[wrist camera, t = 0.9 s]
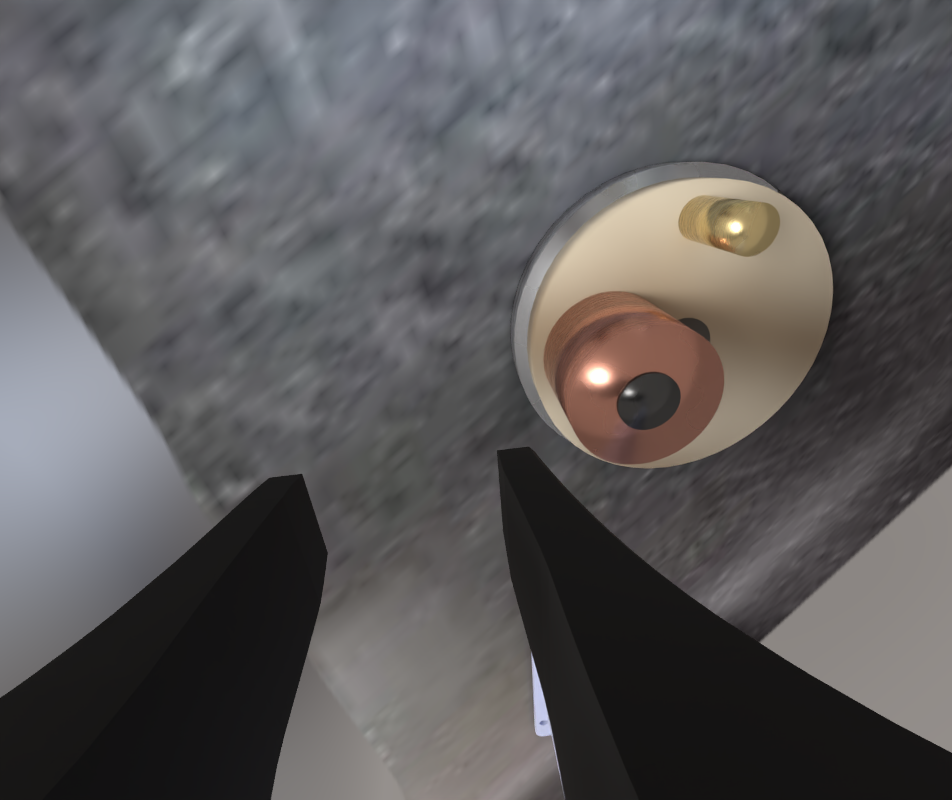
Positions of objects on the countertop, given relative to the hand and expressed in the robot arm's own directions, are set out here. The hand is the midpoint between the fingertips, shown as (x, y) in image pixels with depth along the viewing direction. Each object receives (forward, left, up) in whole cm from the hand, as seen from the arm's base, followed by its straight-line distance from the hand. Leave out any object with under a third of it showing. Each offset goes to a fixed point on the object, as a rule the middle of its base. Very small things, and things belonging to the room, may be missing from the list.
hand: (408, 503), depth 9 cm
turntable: (0, -8, -7) cm, 11 cm away
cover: (0, -6, -6) cm, 9 cm away
